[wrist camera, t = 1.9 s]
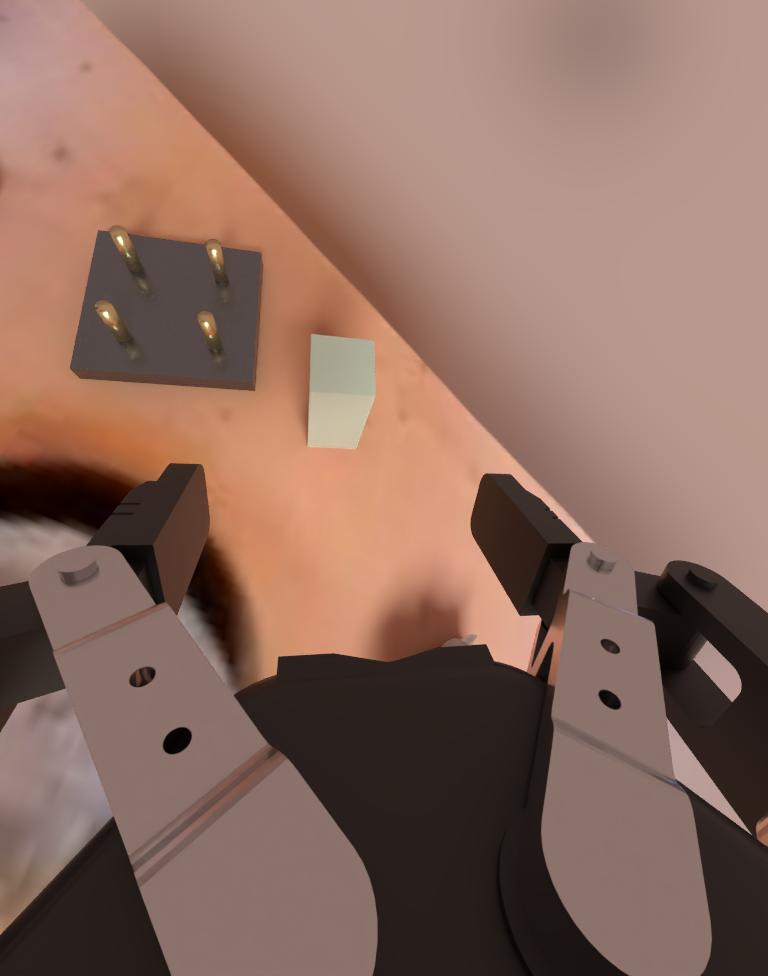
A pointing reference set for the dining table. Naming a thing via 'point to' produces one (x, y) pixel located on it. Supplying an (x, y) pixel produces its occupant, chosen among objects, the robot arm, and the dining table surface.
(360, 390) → the block
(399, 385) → the dining table surface
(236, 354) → the grey gold peg board
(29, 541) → the dining table surface
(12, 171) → the dining table surface
